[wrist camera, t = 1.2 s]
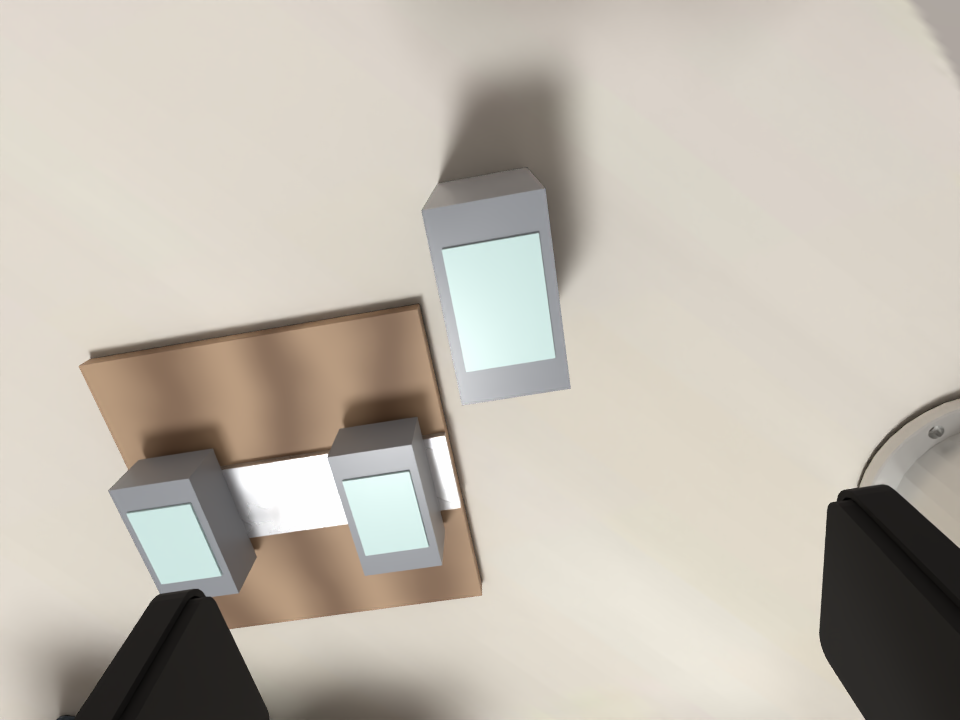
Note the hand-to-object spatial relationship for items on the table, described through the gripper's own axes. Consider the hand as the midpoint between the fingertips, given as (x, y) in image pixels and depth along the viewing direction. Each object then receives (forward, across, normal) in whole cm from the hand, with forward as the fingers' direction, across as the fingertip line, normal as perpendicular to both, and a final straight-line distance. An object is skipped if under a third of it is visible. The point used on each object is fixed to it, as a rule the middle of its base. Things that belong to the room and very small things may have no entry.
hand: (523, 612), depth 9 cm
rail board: (+24, +14, +12) cm, 30 cm away
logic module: (+24, 0, 0) cm, 24 cm away
